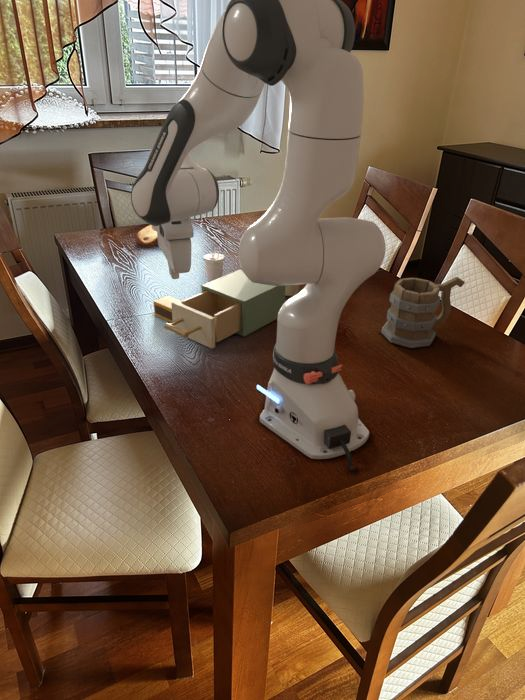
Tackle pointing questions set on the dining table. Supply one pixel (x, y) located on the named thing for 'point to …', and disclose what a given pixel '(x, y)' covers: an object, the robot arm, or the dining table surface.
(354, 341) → the dining table surface
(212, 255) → the smoothie
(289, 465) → the dining table surface
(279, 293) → the cabinet
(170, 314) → the matchbox
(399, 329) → the tankard
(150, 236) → the slice of bread
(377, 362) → the dining table surface
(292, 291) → the candle
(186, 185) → the robot arm
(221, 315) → the drawer
